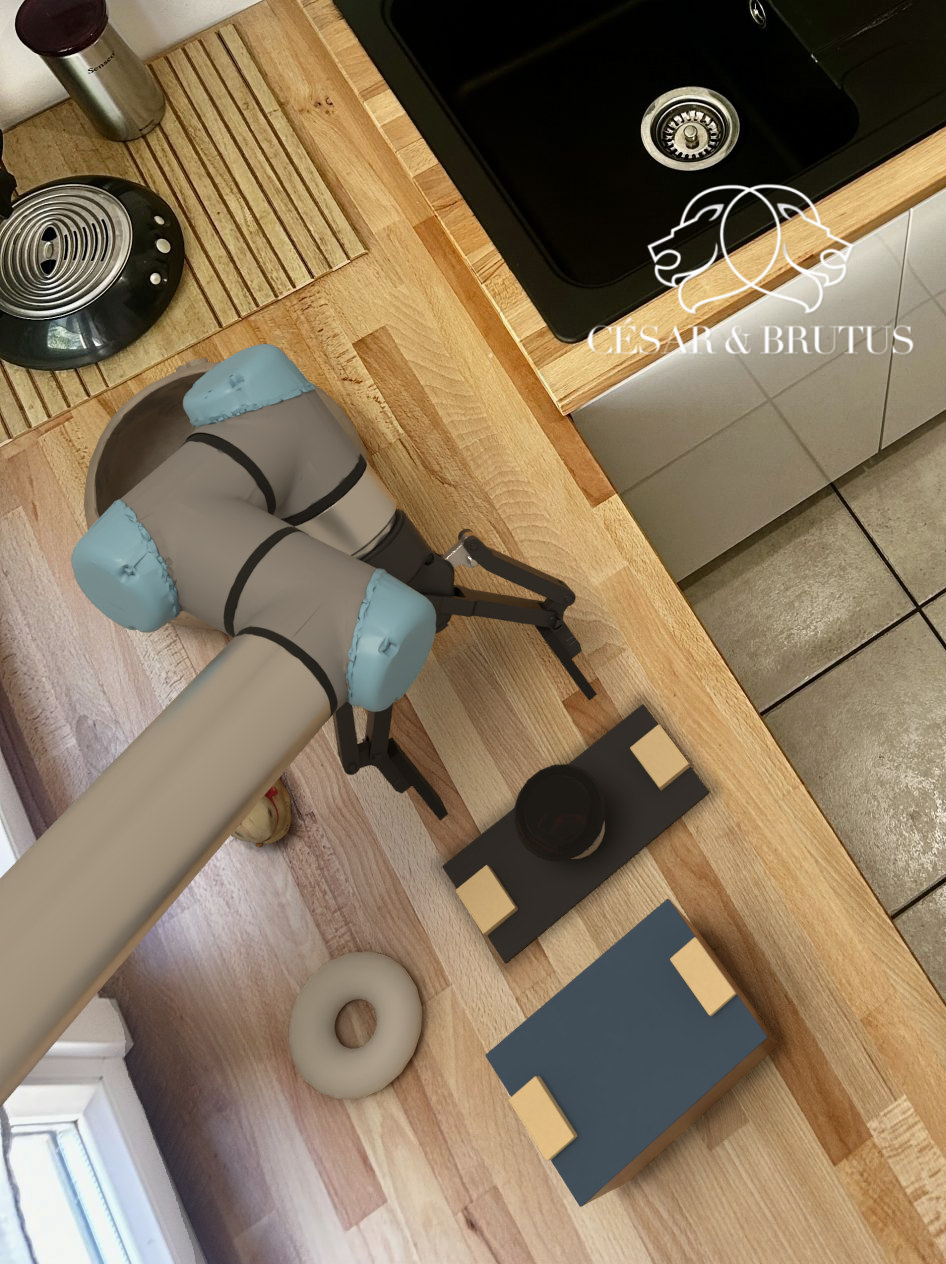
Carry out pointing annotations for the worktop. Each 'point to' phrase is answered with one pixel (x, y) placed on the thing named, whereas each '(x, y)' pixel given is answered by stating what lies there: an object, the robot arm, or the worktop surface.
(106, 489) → the bowl
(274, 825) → the tan rounded lumpy piece
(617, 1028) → the blue slab
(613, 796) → the mat
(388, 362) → the worktop surface
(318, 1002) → the donut
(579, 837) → the coffee cup
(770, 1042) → the stand
